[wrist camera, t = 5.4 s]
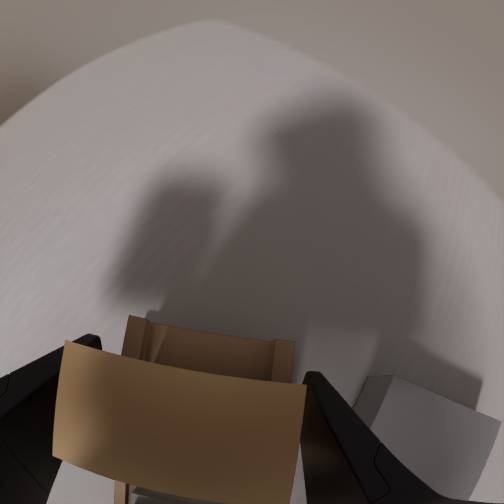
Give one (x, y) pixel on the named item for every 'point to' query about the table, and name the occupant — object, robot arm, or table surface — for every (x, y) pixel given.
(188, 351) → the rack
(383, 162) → the table surface
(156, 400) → the oak block
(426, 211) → the table surface
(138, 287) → the table surface
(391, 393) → the plinth
